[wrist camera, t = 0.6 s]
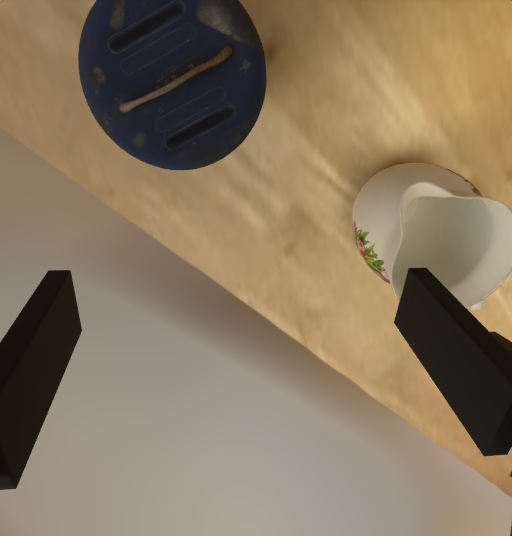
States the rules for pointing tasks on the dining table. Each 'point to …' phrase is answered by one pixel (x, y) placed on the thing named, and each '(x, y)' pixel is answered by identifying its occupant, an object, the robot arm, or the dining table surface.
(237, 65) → the canister
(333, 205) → the dining table surface
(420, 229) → the pitcher
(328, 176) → the dining table surface
